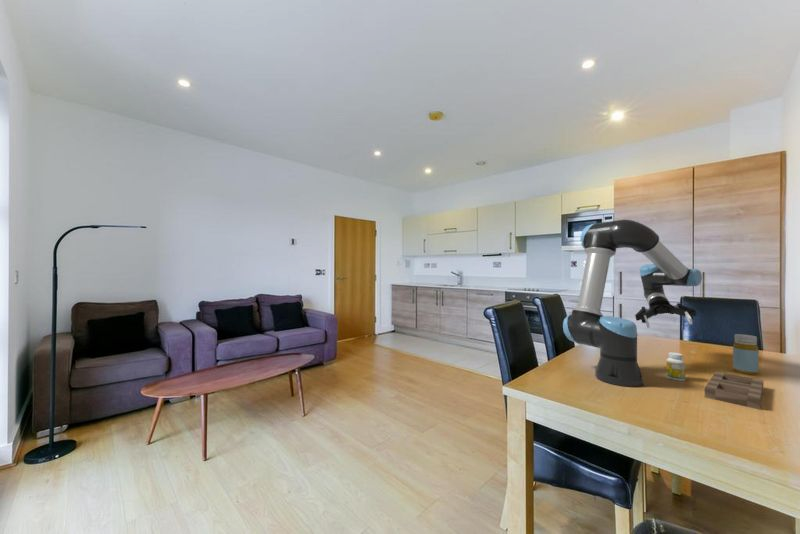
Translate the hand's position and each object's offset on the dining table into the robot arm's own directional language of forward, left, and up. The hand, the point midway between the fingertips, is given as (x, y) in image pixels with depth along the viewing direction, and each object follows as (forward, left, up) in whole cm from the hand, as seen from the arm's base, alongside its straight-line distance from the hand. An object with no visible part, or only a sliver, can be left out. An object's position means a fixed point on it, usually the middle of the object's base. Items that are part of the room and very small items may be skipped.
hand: (668, 323), depth 127 cm
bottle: (+33, +1, -21) cm, 39 cm away
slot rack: (+6, -20, -20) cm, 29 cm away
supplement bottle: (-2, -6, -21) cm, 22 cm away
